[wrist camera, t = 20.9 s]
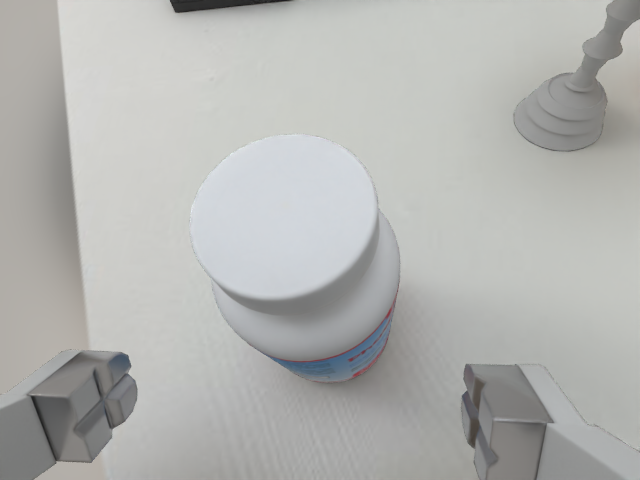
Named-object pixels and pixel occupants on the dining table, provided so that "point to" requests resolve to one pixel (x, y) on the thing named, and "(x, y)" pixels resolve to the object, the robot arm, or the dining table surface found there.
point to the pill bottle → (299, 254)
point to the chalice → (576, 90)
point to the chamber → (211, 4)
